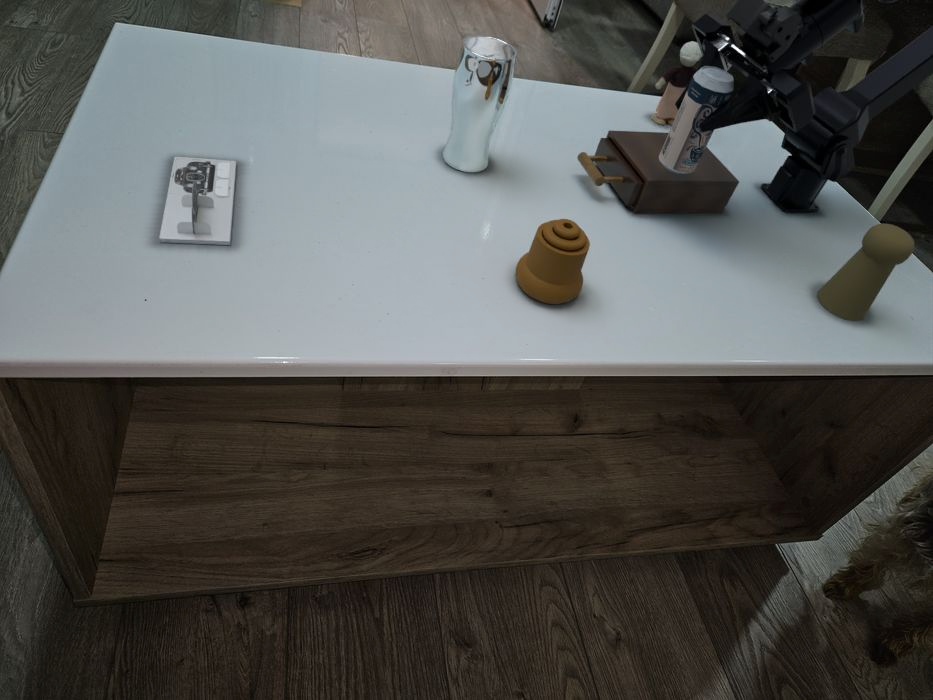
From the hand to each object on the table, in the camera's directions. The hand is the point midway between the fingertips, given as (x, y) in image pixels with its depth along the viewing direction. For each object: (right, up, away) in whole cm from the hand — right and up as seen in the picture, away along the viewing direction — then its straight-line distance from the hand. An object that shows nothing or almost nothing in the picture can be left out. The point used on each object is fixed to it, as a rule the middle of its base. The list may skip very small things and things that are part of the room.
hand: (688, 118), depth 82 cm
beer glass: (-27, -3, +9) cm, 28 cm away
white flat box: (-55, -12, -7) cm, 57 cm away
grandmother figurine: (+5, +10, +30) cm, 32 cm away
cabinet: (+1, -5, +14) cm, 15 cm away
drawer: (-3, -5, +13) cm, 14 cm away
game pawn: (+20, -22, +3) cm, 30 cm away
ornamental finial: (-18, -21, -6) cm, 28 cm away
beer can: (0, -4, +5) cm, 7 cm away
